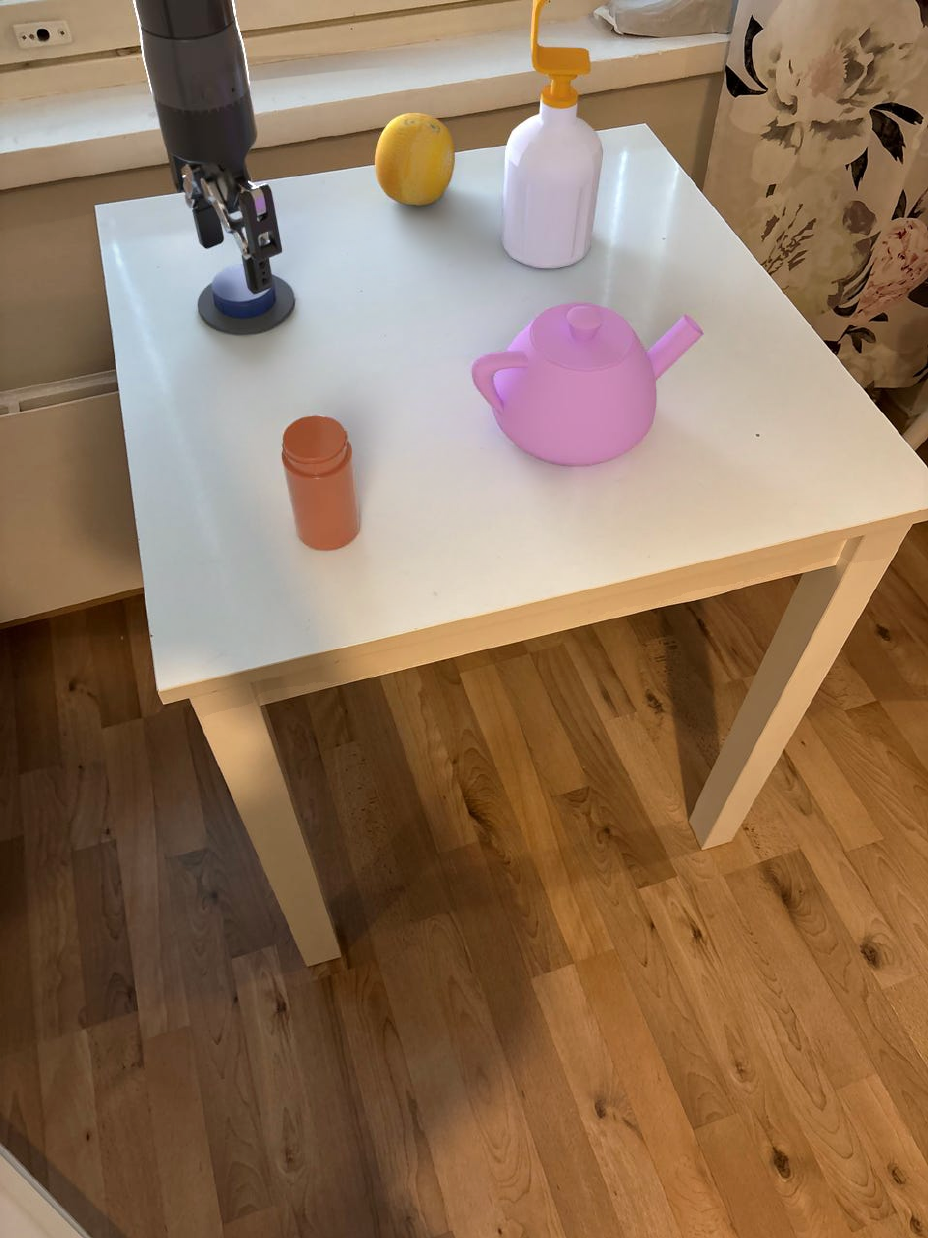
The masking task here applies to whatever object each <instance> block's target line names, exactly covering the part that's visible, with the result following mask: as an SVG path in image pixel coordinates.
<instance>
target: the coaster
mask: <svg viewBox="0 0 928 1238" xmlns="http://www.w3.org/2000/svg"><path fill="white" fill-rule="evenodd" d="M272 278H273V281H274V287H275V295H276V302H275V303H274V305H273V306H272V308H271V309H270V310H268V311H267V312H266V313H264V314H262V315H259V316H257V317H253V318H246V319H239V318H232V317H229V316H226V315H224V314H223V313H221V312H220V311H219V310H218V308H217V307H216V306H215V302H214V298H213V291H212V282H210V283H209V284H207V286H206V287H204V289H203V290H202V291H201V293H200V294H199V298H198V300H197V309H198V310H197V311H198V313H199V316H200V318H201V320H202V321H203V322H204V323H205V324H206V326H208V327H210V328H211V329H213V330H215V331H216V332H220V333H223V334H227V335H233V336H250V335H256V334H261V333H264V332H267V331H270V330H272V329H274V328H276V327H278V326H280V325H281V324H283V323H284V322H285V321H287V319H288V318H289V317H290V316H291V315H292V312H293V311H294V308H295V304H296V303H295V302H296V299H295V293H294V291H293V289H292V287H291V286H290V284H289V283H288V282H287V281H285V280H284V279H283V278H281V277H280V276H277V275H275V274H272Z"/></svg>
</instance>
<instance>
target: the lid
mask: <svg viewBox="0 0 928 1238" xmlns="http://www.w3.org/2000/svg"><path fill="white" fill-rule="evenodd" d="M272 279H273V278H272ZM211 283H212V291H213V298H214V302H215V306H216V307H217V308H218V310H219V311H220V312H221V313H223V314H224V315H226V316H229V317H232V318H239V319H246V318H253V317H257V316H259V315H262V314H264V313H266V312H267V311H268V310H270V309H271V308H272V306H273V305H274V303H275V302H276V295H275V287H274V281H273V285H272V287H271V288H270V289H268V290H265V291H263V292H261V293H258V294H253V293H252V292H251V291H250V290H249V289H248V287H247V282H246V277H245V272H244V266H243V263H241V264H236V265H232V266H228V267H226V268H224V269H222V270H220V271H219V272H218V273H216V274H215V276H214V277H213V279H212V282H211Z"/></svg>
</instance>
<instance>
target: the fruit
mask: <svg viewBox="0 0 928 1238" xmlns="http://www.w3.org/2000/svg"><path fill="white" fill-rule="evenodd" d="M455 158H456V156H455V145H454V141H453V138H452V135H451V133H450V131H449V129H448V128H447V126H445V124H443V122H442V121H440V120H439V119H437V118H436V117H434V116H432V115H428V114H426V113H420V112H407V113H404V114H401V115H398V116H396V117H395V118H393V119H391V121H389V123H388V124H387V125H386V127H384V128H383V131H382V132H381V134H380V136H379V139H378V141H377V144H376V149H375V157H374V168H375V169H374V170H375V175H376V178H377V181H378V184H379V187H380V188H381V189H382V191H383V192H384V193H385V195H386V196H388V197H389V198H390V199H391V200H393V201H395V202H398V203H401V204H404V205H408V206H409V205H410V206H417V207H419V206H420V207H422V206H427V205H431V204H433V203H434V202H435V201H437V200H438V199H440V197H441V196H442V195H443V194H444V193H445V191H446V190H447V188H448V186H449V184H450V182H451V180H452V178H453V173H454V169H455V161H456V160H455Z"/></svg>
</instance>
